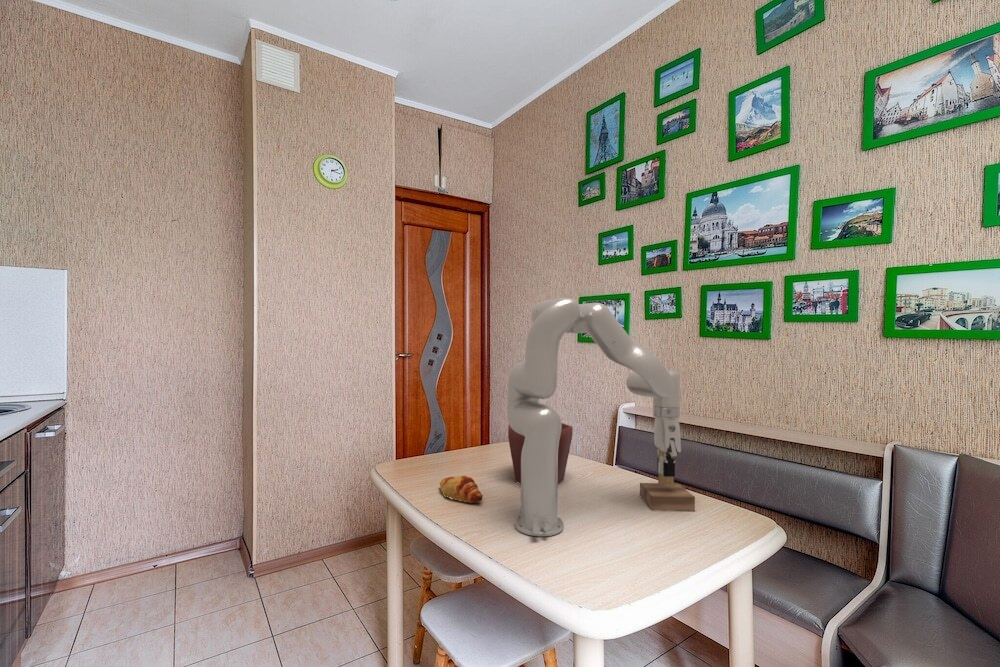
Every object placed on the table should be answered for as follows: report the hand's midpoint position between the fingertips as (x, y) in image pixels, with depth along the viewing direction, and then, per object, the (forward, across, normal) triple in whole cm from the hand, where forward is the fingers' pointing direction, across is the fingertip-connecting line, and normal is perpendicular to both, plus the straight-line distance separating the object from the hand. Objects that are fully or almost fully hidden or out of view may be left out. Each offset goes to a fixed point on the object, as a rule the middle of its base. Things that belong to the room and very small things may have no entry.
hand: (665, 472), depth 132 cm
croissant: (+10, +4, +62) cm, 62 cm away
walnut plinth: (+9, 0, 0) cm, 9 cm away
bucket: (+9, +21, +36) cm, 43 cm away
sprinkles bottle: (+4, 0, 0) cm, 4 cm away
